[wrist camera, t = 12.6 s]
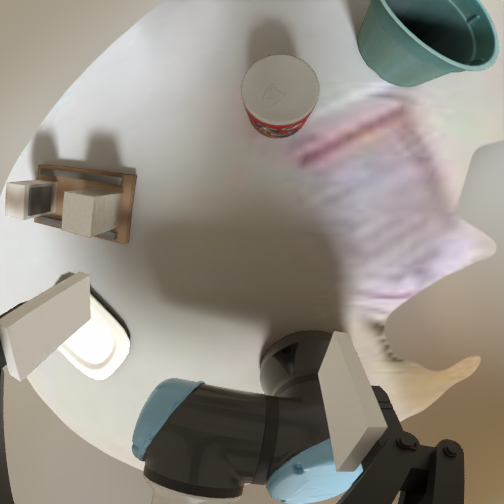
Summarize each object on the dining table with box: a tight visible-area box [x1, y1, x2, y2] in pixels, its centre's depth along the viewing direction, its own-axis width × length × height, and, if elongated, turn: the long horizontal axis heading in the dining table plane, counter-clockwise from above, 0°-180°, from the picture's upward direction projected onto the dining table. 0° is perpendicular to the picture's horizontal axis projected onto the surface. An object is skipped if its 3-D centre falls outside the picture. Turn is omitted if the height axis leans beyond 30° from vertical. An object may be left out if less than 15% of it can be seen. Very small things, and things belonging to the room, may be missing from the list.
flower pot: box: [358, 0, 499, 87], centre depth 24 cm, size 16×16×16 cm
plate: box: [57, 293, 130, 380], centre depth 46 cm, size 18×18×2 cm
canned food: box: [241, 54, 319, 138], centre depth 30 cm, size 8×8×11 cm
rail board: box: [5, 165, 137, 244], centre depth 36 cm, size 10×20×9 cm, turn 79°
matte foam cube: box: [62, 188, 124, 237], centre depth 35 cm, size 6×5×8 cm
